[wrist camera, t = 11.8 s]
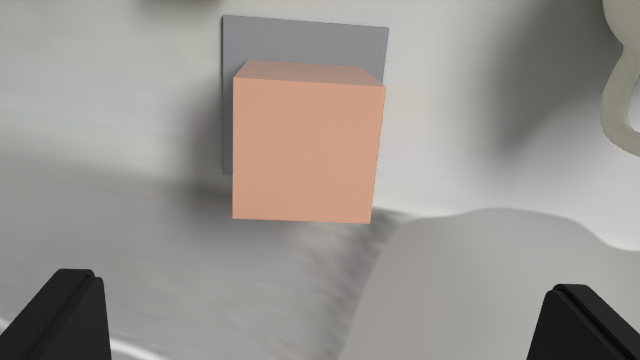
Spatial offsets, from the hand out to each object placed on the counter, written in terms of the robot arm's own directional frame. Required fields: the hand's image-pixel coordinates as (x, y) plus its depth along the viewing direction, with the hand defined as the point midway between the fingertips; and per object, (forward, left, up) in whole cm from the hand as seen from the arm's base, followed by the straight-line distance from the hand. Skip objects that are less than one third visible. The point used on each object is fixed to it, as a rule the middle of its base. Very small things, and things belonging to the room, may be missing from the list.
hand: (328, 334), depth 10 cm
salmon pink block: (0, 0, -21) cm, 21 cm away
